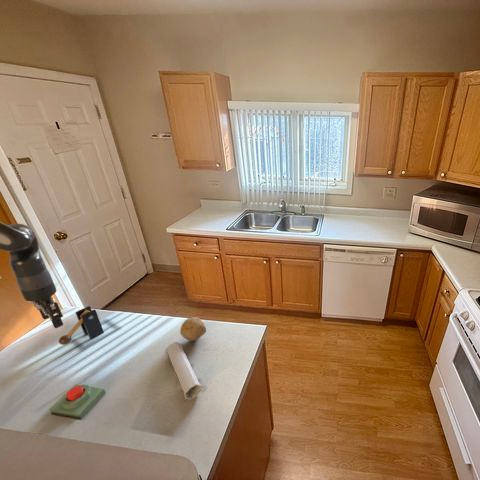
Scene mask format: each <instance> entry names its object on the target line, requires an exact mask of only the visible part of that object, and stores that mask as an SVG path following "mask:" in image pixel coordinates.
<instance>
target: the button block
mask: <svg viewBox="0 0 480 480" xmlns="http://www.w3.org/2000/svg"><path fill="white" fill-rule="evenodd" d="M76 386H81V387H82V388H83V390H84V393H83V395H82V396H81V397H80V398H78V399H76V400H74V401H69V400H68V398H67V396H66V394H67V392H65V393H64V394H63V395H62V396H61V397H60V398H59V399H57V400H56V401H55V402H54V403H53V404H52V406H50V407H49V409H48V410H49V411H50V413H51V414H53V415H57V416H58V415H59V416H63V417H69V418H75V419H81V420H82V419H83V418H84V417H85V416H86V415H87V414H88V413H89V412H90V411H91V410H92V409H93V408H94V407H95V406H96V404H98V402H99V401H101V400H102V398H103V397H104V396H105V395H106V394H107V392H106V390H105V388H102V387H95V386H90V385H89V384H84V383H83V384H79V383H76V384H75V385H73V386H72V387H71V388H70V389H72V388H74V387H76Z"/></svg>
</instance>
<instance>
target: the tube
mask: <svg viewBox="0 0 480 480" xmlns="http://www.w3.org/2000/svg"><path fill="white" fill-rule="evenodd" d="M166 352H167V355H168V358H169V360H170V362H171V365H172V368H173V369H174V372H175V374H176V377H177V380H178V381H179V383H180V387H181V389H182V391H183V396H184V398H185V399H186V400H190V401H191V400H193V399H194V398H196V397H198V396H199V395H200V393H201V392H202V391H203V386H202V384H201V383H200V382H199V380H198V378H197V375H196V373H195V371H194V369H193V367H192V365H191V363H190V361H189V359H188V357H187V355H186V353H185V350H184V349H183V346H182V345H181V343H180V342H177V341H174V342H171V343H169V345H168V346H167V347H166Z"/></svg>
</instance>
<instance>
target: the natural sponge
mask: <svg viewBox="0 0 480 480" xmlns="http://www.w3.org/2000/svg"><path fill="white" fill-rule="evenodd" d="M206 332H207V327H206V325H205V323H204V322H203V320H202V319H201V318H199V317H196V316H192V317H188V318H187V319H186V320H184V322H182V324H181V326H180V331H179V333H180V335H181V337H183V338H184V339H185V340H187V341H190V342H195V341H197V340H199V338H201V337H203V336H204V335H205V334H206Z"/></svg>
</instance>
